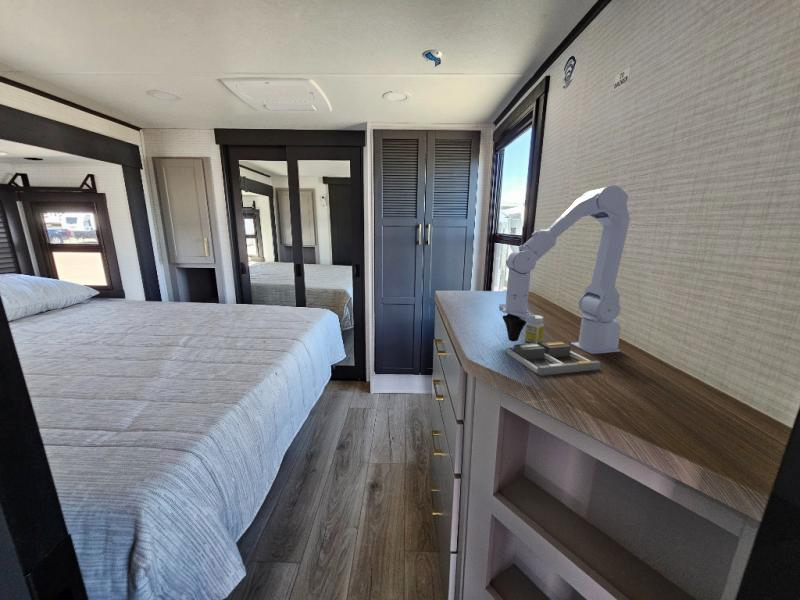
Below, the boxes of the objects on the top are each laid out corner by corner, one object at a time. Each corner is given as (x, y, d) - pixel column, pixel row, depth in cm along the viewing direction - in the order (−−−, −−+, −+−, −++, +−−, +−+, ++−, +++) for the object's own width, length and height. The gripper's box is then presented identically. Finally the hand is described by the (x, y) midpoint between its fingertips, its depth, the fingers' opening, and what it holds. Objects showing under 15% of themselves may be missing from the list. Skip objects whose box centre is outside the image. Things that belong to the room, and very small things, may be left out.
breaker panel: (558, 349, 88) (559, 341, 87) (599, 369, 74) (600, 361, 74) (506, 353, 84) (507, 345, 84) (539, 376, 71) (540, 367, 70)
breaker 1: (534, 352, 84) (535, 342, 84) (544, 358, 80) (545, 347, 80) (513, 354, 83) (514, 344, 82) (522, 360, 79) (523, 349, 78)
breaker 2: (559, 350, 86) (560, 340, 85) (569, 356, 82) (571, 345, 81) (538, 352, 84) (540, 342, 84) (548, 357, 81) (549, 347, 80)
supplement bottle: (538, 341, 94) (541, 314, 92) (544, 346, 89) (547, 319, 88) (522, 340, 94) (525, 314, 93) (527, 346, 90) (530, 318, 88)
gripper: (491, 290, 92) (488, 333, 94) (519, 300, 78) (515, 350, 81) (512, 289, 93) (508, 332, 96) (544, 299, 79) (538, 348, 82)
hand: (513, 340), depth 88 cm, fingers closed
